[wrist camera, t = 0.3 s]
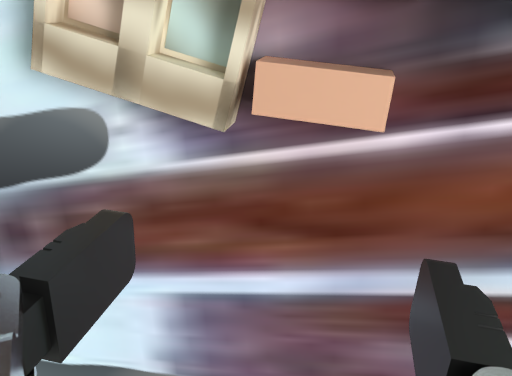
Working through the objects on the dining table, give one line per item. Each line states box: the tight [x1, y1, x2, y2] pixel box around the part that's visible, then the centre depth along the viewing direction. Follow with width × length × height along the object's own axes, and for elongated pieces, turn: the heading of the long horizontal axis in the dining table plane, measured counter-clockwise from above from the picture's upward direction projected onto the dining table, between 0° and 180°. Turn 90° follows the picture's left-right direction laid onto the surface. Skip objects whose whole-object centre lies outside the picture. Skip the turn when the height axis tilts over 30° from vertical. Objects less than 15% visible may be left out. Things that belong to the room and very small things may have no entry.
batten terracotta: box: [252, 56, 395, 132], centre depth 35 cm, size 10×4×4 cm, turn 85°
